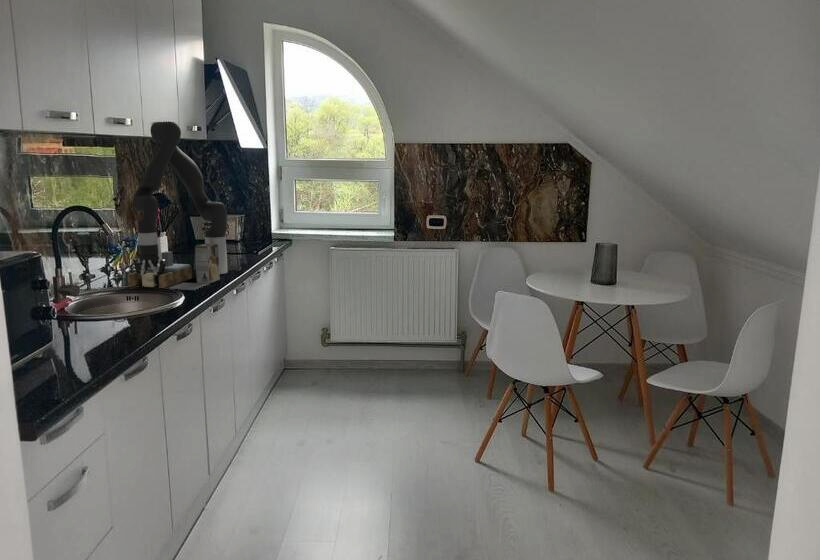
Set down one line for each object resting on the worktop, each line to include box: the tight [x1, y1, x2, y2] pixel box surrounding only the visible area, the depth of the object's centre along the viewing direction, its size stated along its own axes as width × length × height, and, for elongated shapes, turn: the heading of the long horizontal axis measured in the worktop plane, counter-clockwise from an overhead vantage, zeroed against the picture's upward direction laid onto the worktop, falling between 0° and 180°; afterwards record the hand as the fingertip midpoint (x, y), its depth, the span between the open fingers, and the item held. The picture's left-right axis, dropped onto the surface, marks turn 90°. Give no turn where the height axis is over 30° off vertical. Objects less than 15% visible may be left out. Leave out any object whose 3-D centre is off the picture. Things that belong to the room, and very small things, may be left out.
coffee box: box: [194, 243, 221, 284], centre depth 275 cm, size 9×6×16 cm
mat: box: [168, 282, 210, 291], centre depth 264 cm, size 12×12×1 cm
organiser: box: [127, 265, 193, 289], centre depth 272 cm, size 24×15×6 cm, turn 170°
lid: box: [147, 251, 191, 271], centre depth 276 cm, size 11×15×7 cm
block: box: [141, 273, 159, 288], centre depth 265 cm, size 5×5×5 cm
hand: (151, 283), depth 265 cm, fingers closed on block, 5 cm apart
